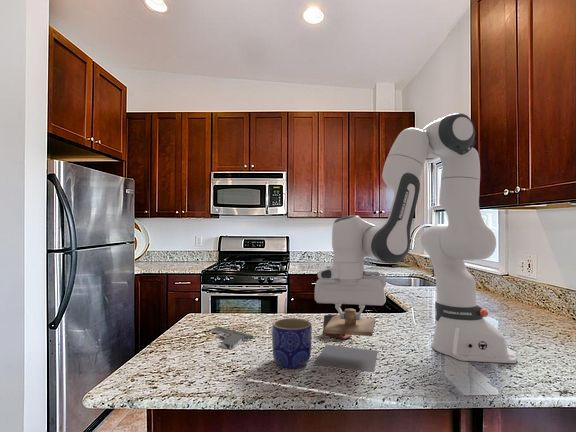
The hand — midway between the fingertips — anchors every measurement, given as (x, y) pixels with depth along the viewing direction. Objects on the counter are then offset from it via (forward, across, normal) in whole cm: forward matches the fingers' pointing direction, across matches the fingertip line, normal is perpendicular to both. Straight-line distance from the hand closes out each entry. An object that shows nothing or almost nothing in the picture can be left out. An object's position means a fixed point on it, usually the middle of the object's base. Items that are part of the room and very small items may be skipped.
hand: (350, 319), depth 97 cm
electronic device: (+12, +7, -17) cm, 22 cm away
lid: (+2, 0, 0) cm, 2 cm away
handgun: (+10, +43, -3) cm, 45 cm away
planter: (+11, +15, +10) cm, 21 cm away
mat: (+11, +1, +1) cm, 11 cm away
